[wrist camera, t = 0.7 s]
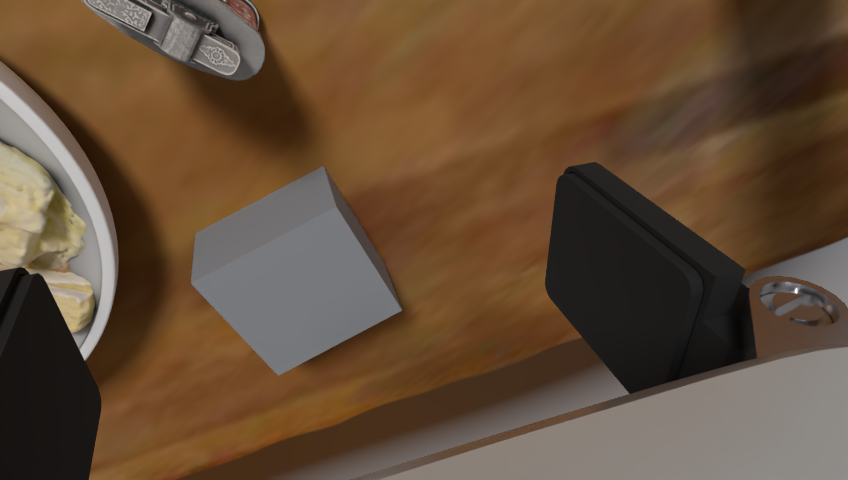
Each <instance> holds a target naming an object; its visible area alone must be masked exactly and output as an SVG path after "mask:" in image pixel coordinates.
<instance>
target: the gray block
mask: <svg viewBox="0 0 848 480" xmlns="http://www.w3.org/2000/svg"><path fill="white" fill-rule="evenodd" d="M191 284H192V285H193V286H194V287H195V288H196V289H197V290H198V291H199V292H200V294H201V295H202V296H203V297H204V298H205V299H206V300H207V301H208V302H209V303H210V304H211V305H212V306H213V307H214V308H215V309H216V310H217V311H218V313H219V314H220V315H221V316H222V317H223V318H224V319H225V320H226V321H227V322H228V323H229V324H230V325H231V326H232V327H233V328H234V329H235V330H236V332H237V333H238V334H239V335H240V336H241V337H242V338H243V339H244V340H245V341H246V342H247V343H248V344H249V345H250V346H251V347H252V348H253V349H254V351H255V352H256V353H257V354H258V355H259V356H260V357H261V358H262V359H263V360H264V361H265V362H266V363H267V364H268V365H269V366H270V367H271V368H272V369H273V371H274V372H275V373H276V374H277V375H278V376H279V375H281V374H283V373H284V372H286V371H288V370H290V369H292V368H294V367H296V366H298V365H300V364H302V363H303V362H305V361H307V360H309V359H311V358H313V357H315V356H317V355H319V354H321V353H322V352H324V351H326V350H328V349H330V348H332V347H334V346H336V345H338V344H339V343H341V342H343V341H345V340H347V339H349V338H351V337H353V336H355V335H357V334H358V333H360V332H362V331H364V330H366V329H368V328H370V327H372V326H374V325H376V324H377V323H379V322H381V321H383V320H385V319H387V318H389V317H391V316H393V315H395V314H396V313H398V312H400V311H402V309H401V306H400V303H399V301H398V298H397V296H396V293H395V290H394V288H393V285H392V283H391V280H390V278H389V275H388V272H387V270H386V267H385V265H384V263H383V261H382V260H381V258H380V256H379V255H378V253H377V252H376V250H375V248H374V247H373V245H372V243H371V242H370V240H369V239H368V237H367V235H366V234H365V232H364V230H363V229H362V227H361V226H360V224H359V222H358V221H357V219H356V217H355V216H354V214H353V213H352V211H351V209H350V208H349V206H348V205H347V203H346V201H345V200H344V198H343V196H342V195H341V193H340V192H339V190H338V188H337V187H336V185H335V183H334V182H333V180H332V179H331V177H330V175H329V174H328V172H327V170H326V169H325V167H324V166H322V167H320V168H318V169H316V170H314V171H312V172H311V173H309V174H307V175H305V176H303V177H301V178H299V179H297V180H295V181H294V182H292V183H290V184H288V185H286V186H284V187H282V188H280V189H278V190H277V191H275V192H273V193H271V194H269V195H267V196H265V197H263V198H261V199H260V200H258V201H256V202H254V203H252V204H250V205H248V206H246V207H244V208H242V209H241V210H239V211H237V212H235V213H233V214H231V215H229V216H227V217H225V218H224V219H222V220H220V221H218V222H216V223H214V224H212V225H210V226H208V227H207V228H205V229H203V230H201V231H199V232H197V233H195V244H194V255H193V266H192V277H191Z"/></svg>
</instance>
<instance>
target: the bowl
mask: <svg viewBox="0 0 848 480" xmlns="http://www.w3.org/2000/svg"><path fill="white" fill-rule="evenodd" d="M118 262H119V259H118V243H117V236H116V229H115V225H114V221H113V216H112V212H111V209H110V206H109V203H108V200H107V197H106V195H105V192H104V190H103V187H102V185H101V183H100V181H99V179H98V176H97V174H96V172H95V170H94V168H93V167H92V165H91V163H90V161H89V160H88V158H87V156H86V154H85V153H84V151H83V150H82V148H81V147H80V145H79V144H78V142H77V141H76V139H75V138H74V136H73V135H72V134H71V132H70V131H69V130H68V128H67V127H66V126H65V125H64V123H63V122H62V121H61V120H60V119H59V117H58V116H57V115H56V114H55V113H54V111H53V110H52V109H51V108H50V107H49V106H48V105H47V104H46V103H45V102H44V101H43V100H42V98H41V97H40V96H39V95H38V94H37V93H36V92H35V91H34V90H33V89H32V88H30V87H29V86H28V85H27V84H26V83H25V82H24V81H23V80H22V79H21V78H20V77H19V76H18V75H16V74H15V73H14V72H13V71H12V70H11V69H9V68H8V67H7V66H6V65H5V64H4V63H2V62H1V61H0V271H2V270H7V269H13V268H18V267H22V268H25V269H26V270H27V271H28V272H29V273H30V274H35V273H39V274H41V275H42V276H43V278H44V279H45V281H46V283H47V285H48V287H49V289H50V291H51V293H52V295H53V297H54V299H55V301H56V303H57V305H58V307H59V309H60V311H61V313H62V315H63V317H64V319H65V322H66V324H67V326H68V328H69V330H70V332H71V334H72V336H73V338H74V340H75V342H76V344H77V346H78V348H79V350H80V352H81V354H82V356H83V358H84V360H86V359H87V358H88V357H89V355H90V354H91V352H92V351H93V349H94V348H95V346H96V345H97V343H98V341H99V339H100V337H101V335H102V333H103V331H104V329H105V326H106V324H107V321H108V318H109V315H110V312H111V309H112V305H113V301H114V296H115V292H116V287H117V279H118Z"/></svg>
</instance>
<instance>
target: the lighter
mask: <svg viewBox="0 0 848 480" xmlns="http://www.w3.org/2000/svg"><path fill="white" fill-rule="evenodd" d="M82 2H83V3H84V4H85V5H86V6H87V7H88V8H89V9H90V10H92V11H93V12H95V13H96V14H97V15H99V16H100V17H102V18H103V19H104V20H106V21H107V22H109V23H110V24H112V25H113V26H114V27H116V28H117V29H119V30H120V31H122V32H123V33H124V34H126V35H128V36H129V37H131V38H133V39H135V40H137V41H138V42H140V43H142V44H144V45H145V46H147V47H149V48H151V49H152V50H154V51H156V52H158V53H159V54H161V55H163V56H166V57H168V58H171V59H173V60H175V61H178V62H180V63H182V64H185V65H187V66H190V67H192V68H194V69H197V70H200V71H203V72H206V73H210V74H213V75H216V76H220V77H223V78H226V79H230V80H235V81H242V80H246V79H249V78H251V77H252V76H254V75H255V74H257V72H258V71H259V69H260V68H261V67H262V64H263V61H264V58H265V47H264V43H263V40H262V37H261V35H260V33H259V32H258V27H259V15H258V12H257V9H256V6H255V5H254V4H253V2H252V1H251V0H82Z"/></svg>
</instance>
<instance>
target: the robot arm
mask: <svg viewBox="0 0 848 480" xmlns="http://www.w3.org/2000/svg"><path fill="white" fill-rule="evenodd" d="M745 270H746V269H744V268H743V267H741V266H740V265H739V264H737V263H736V262H735V261H733V260H732V259H730V258H729V257H728V256H726V255H725V254H723V253H722V252H721V251H719V250H718V249H716V248H715V247H714V246H712V245H711V244H710V243H708V242H707V241H705V240H704V239H703V238H701V237H700V236H698V235H697V234H696V233H694V232H693V231H691V230H690V229H689V228H687V227H686V226H685V225H683V224H682V223H680V222H679V221H678V220H676V219H675V218H673V217H672V216H671V215H669V214H668V213H667V212H665V211H664V210H662V209H661V208H660V207H658V206H657V205H655V204H654V203H653V202H651V201H650V200H648V199H647V198H646V197H644V196H643V195H642V194H640V193H639V192H637V191H636V190H635V189H633V188H632V187H630V186H629V185H628V184H626V183H625V182H623V181H622V180H621V179H619V178H618V177H617V176H615V175H614V174H612V173H611V172H610V171H608V170H607V169H605V168H604V167H603V166H601V165H600V164H598V163H596V162H593V163H587V164H581V165H576V166H570V167H568V168H567V169H566V170H565V172H564V174H563V175H561V176H560V177H559V178H558V180H557V185H556V194H555V202H554V211H553V219H552V228H551V236H550V245H549V253H548V262H547V270H546V278H545V286H546V290H547V293H548V295H549V297H550V299H551V300H552V301H553V302H554V303H555V305H556V306H557V307H558V308H559V309H560V311H561V312H562V313H563V314H564V316H565V317H566V318H567V319H568V320H569V322H570V323H571V324H572V325H573V326H574V328H575V329H576V330H577V331H578V332H579V334H580V335H581V336H582V337H583V338H584V339H585V341H586V342H587V343H588V344H589V346H590V347H591V348H592V349H593V350H594V351H595V353H596V354H597V355H598V356H599V358H600V359H601V360H602V361H603V362H604V364H605V365H606V366H607V367H608V368H609V370H610V371H611V372H612V373H613V374H614V376H615V377H616V378H617V379H618V380H619V382H620V383H621V384H622V385H623V386H624V388H625V389H626V390H627V391H628V392H629V394H628V395H625V396H622V397H618V398H615V399H612V400H609V401H606V402H602V403H599V404H595V405H592V406H589V407H586V408H582V409H579V410H575V411H572V412H569V413H565V414H563V415H559V416H556V417H552V418H549V419H546V420H542V421H539V422H536V423H533V424H529V425H526V426H523V427H520V428H516V429H513V430H510V431H506V432H503V433H500V434H497V435H493V436H490V437H487V438H484V439H480V440H477V441H474V442H470V443H467V444H464V445H461V446H457V447H454V448H451V449H448V450H444V451H441V452H438V453H435V454H431V455H428V456H425V457H422V458H419V459H415V460H412V461H409V462H406V463H402V464H399V465H396V466H393V467H390V468H386V469H383V470H380V471H377V472H373V473H370V474H367V475H364V476H360V477H357V478H354V479H350V480H848V308H847V306H846V305H845V304H844V303H843V302H842V301H841V300H840V299H839V298H838V297H837V296H835V295H834V294H832V293H831V292H829V291H827V290H826V289H824V288H822V287H820V286H817V285H815V284H812V283H810V282H807V281H803V280H799V279H796V278H791V277H781V276H775V277H765V278H762V279H759V280H756V281H755V282H754V283H753V284H752V285H751V286H750V288H747V287H746V286H745V285H743V284H742V283H741V281H742V278H743V275H744V273H745ZM100 413H101V397H100V392H99V389H98V387H97V385H96V383H95V381H94V378H93V376H92V374H91V372H90V370H89V368H88V366H87V364H86V362H85V360H84V358H83V356H82V354H81V352H80V350H79V348H78V346H77V344H76V342H75V340H74V338H73V336H72V334H71V332H70V330H69V328H68V326H67V324H66V322H65V319H64V317H63V315H62V313H61V311H60V309H59V307H58V305H57V303H56V301H55V299H54V297H53V295H52V293H51V291H50V289H49V287H48V285H47V283H46V281H45V279H44V278H43V276H42V275H41V274H39V273H35V274H30V273H29V272H28V271H27V270H26V269H25V268H22V267H18V268H13V269H7V270H2V271H0V480H89V474H90V469H91V463H92V457H93V452H94V446H95V441H96V435H97V430H98V424H99V418H100Z"/></svg>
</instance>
